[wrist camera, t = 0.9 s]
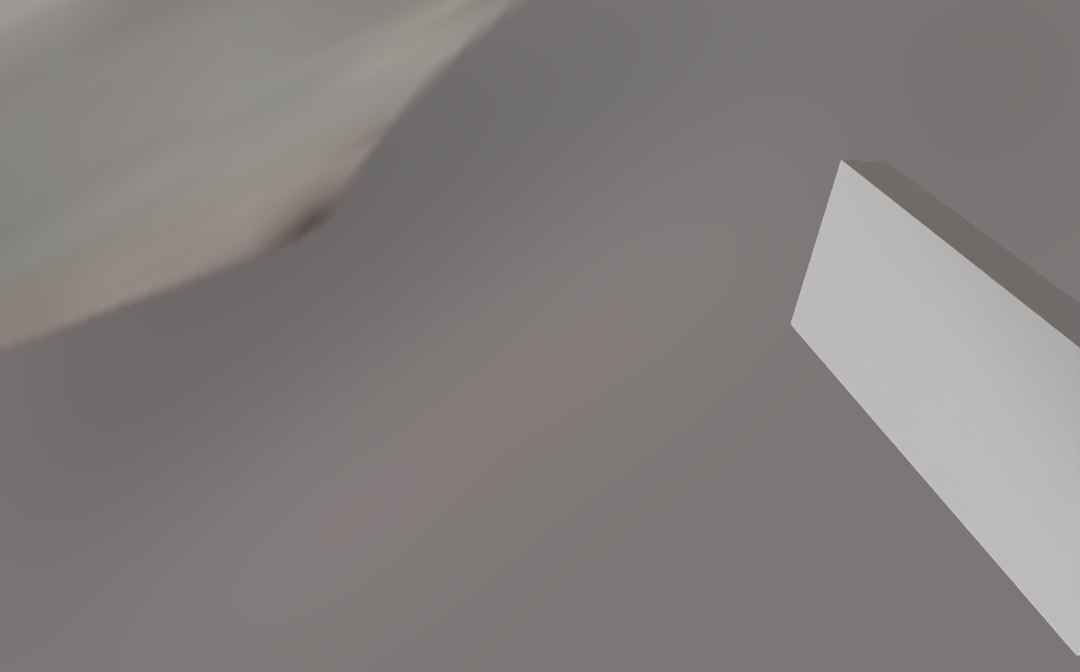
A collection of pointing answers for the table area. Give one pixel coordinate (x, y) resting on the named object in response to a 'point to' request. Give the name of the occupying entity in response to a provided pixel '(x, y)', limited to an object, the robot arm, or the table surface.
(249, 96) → the table surface
